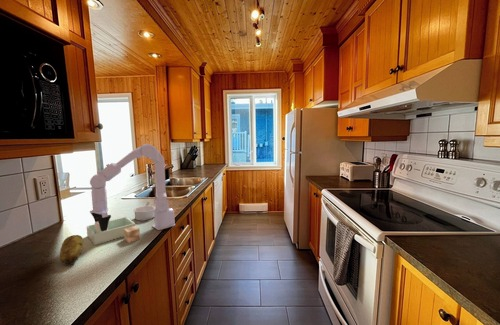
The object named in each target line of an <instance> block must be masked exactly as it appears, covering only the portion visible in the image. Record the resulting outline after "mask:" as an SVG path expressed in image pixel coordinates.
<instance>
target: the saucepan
mask: <svg viewBox="0 0 500 325" xmlns="http://www.w3.org/2000/svg"><path fill="white" fill-rule="evenodd" d="M155 208H156V206H155V205H154V206H153V205H150V201H147V203H146V205H142V206H138V207H135V208H134V209H133V211H134V220H135V219H136V220H137V221H148V220H151V219H153V218H155V214H154V210H155Z"/></svg>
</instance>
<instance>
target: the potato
mask: <svg viewBox="0 0 500 325" xmlns="http://www.w3.org/2000/svg"><path fill="white" fill-rule="evenodd" d="M83 247H84V238H83V237H82V236H81V235H79V234H74V235H71V236H67V237H66V238H65V239H64V240H63V242H62V244H61V247H60V251H59V262H61V264H62V265H67V266H69V265H72V264H74V263H76V262H77V261H78V259H80V255H81V253H82V249H83Z"/></svg>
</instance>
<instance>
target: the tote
mask: <svg viewBox="0 0 500 325" xmlns="http://www.w3.org/2000/svg"><path fill="white" fill-rule="evenodd" d="M133 226H136V223H135V222H134V221H133V220H131V219H130V218H128V217H127V216H125V217H119V218H115V219H112V220H111V219H110V220H109V222H108V230H107V231H103V232H99V233H95V223H94V224H90V225H86V235H87V236H86V237H88V239H89V240H90V242H91V243H92V244H93V246H97V245H101V244H105V243H108V242H111V241H114V240H113V239H115V240H117V238H118V239H121V238H124V229H126V228H129V227H133ZM120 237H121V238H120ZM110 240H111V241H110ZM107 241H108V242H107Z"/></svg>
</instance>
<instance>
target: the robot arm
mask: <svg viewBox="0 0 500 325" xmlns="http://www.w3.org/2000/svg"><path fill="white" fill-rule="evenodd" d="M143 157H145V158H147V159H150V160H151V161H152V162H154V163H153V164H154V178H155V179H154V180H155V198H154V200H153V204H154V207H155V210H154V214H155V216H154V224H152V225H151V227H152V228H154V229H156V230H157V231H161V230H164V229H168V228H171V227H175V226H176V223H175V222H176V220H175V217H176V216H175V211H174V209H173V208H172V207H170V202H169V200H168V196H167V192H166V191H167V190H166V188H167V187H166V168H165V166H166V165H165V157H164V156H163V155H162V153H161V152H160V151H159V149H158V148H156V147H155V146H154V145H152V144H149V143H144V144H142V145H140V146H139V147H136V148H135V149H133V150H132V151H131V152H129V153H128V154H126V155H125V156H124V157H123V158H121V159H119V161H117V162H115V163H114V162H110V163H107V164H106V165H105V167H104V168H103V169H101V170H98V171H96V174H94V175H93V176H92V177H91V178H90V180H89V184H90V186H91V187H90V188H91V191H90V192H91V204H92V209H91V210H90V211H89V214H90V215H91V216H92V217H93V219H94V223H95V222H97V221H98V222H99V225H100V229H101V231H106V230H107V228H108V222H109V221H111V217H112V215H111V214H108V211H109V208H108V207H109V206H108V198H107V197H108V196H107V189H106V183H107V182H110V181H112V179H113V178H115V177H116V176H117V175H119V174H120V173H121V172H122V168H123V167H125V166H127V165H128V164H129V163H131V162H132V161H134V160H135V159H140V158H143Z"/></svg>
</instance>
